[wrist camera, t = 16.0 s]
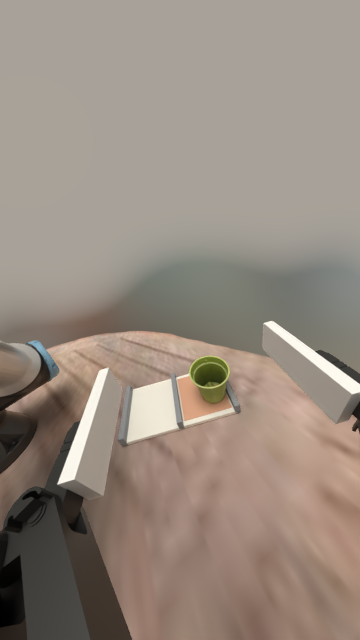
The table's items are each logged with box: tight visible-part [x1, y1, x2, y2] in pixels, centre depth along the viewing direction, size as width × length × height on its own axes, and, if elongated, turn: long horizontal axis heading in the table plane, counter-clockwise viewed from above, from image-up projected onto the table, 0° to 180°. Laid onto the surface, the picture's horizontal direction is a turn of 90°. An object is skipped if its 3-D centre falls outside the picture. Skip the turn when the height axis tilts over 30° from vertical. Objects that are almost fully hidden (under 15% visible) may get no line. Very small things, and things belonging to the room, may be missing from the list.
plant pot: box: [189, 356, 230, 404], centre depth 39 cm, size 9×9×9 cm
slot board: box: [118, 373, 240, 446], centre depth 42 cm, size 28×14×3 cm, turn 99°
